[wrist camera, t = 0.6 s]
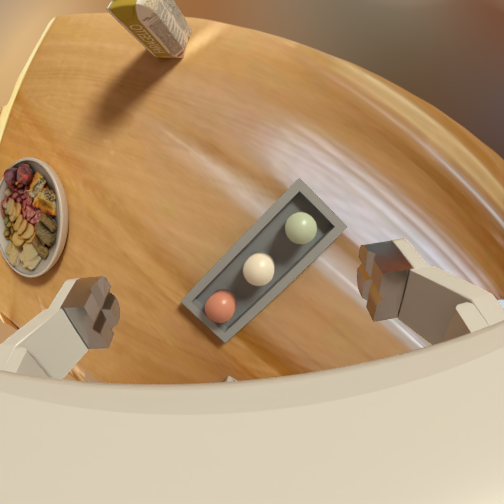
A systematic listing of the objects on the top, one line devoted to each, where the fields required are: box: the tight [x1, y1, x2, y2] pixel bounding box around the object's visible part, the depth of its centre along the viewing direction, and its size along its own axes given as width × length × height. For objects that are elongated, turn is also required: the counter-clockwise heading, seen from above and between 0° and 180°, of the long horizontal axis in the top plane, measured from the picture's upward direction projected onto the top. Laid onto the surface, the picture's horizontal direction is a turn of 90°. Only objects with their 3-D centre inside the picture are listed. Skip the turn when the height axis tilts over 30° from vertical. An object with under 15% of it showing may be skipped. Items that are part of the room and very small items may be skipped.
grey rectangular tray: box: [180, 178, 347, 343], centre depth 56 cm, size 12×32×4 cm, turn 136°
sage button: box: [285, 212, 317, 244], centre depth 51 cm, size 5×5×4 cm
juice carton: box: [106, 0, 192, 58], centre depth 40 cm, size 9×8×24 cm
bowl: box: [0, 158, 69, 277], centre depth 59 cm, size 30×30×8 cm
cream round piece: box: [243, 252, 275, 286], centre depth 53 cm, size 5×5×4 cm
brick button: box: [205, 289, 237, 323], centre depth 55 cm, size 5×5×4 cm
